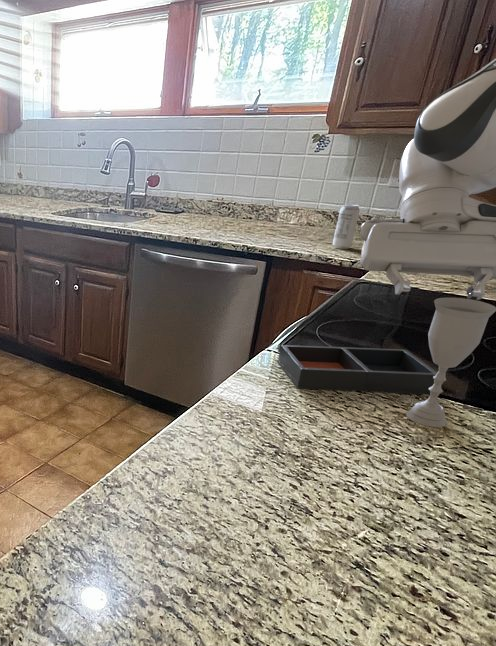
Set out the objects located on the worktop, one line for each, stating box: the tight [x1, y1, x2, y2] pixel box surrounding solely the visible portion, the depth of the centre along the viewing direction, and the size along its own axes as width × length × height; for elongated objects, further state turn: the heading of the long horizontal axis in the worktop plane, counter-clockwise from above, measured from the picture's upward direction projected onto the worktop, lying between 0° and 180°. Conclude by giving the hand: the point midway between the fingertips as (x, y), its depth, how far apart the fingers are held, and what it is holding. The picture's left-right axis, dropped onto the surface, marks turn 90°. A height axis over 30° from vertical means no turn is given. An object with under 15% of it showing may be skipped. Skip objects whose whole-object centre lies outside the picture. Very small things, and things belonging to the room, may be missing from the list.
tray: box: [277, 344, 438, 396], centre depth 92 cm, size 21×11×4 cm, turn 81°
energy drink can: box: [332, 203, 361, 250], centre depth 189 cm, size 6×6×15 cm
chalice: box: [405, 297, 496, 428], centre depth 76 cm, size 7×7×18 cm
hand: (438, 295), depth 80 cm, fingers open, 8 cm apart
